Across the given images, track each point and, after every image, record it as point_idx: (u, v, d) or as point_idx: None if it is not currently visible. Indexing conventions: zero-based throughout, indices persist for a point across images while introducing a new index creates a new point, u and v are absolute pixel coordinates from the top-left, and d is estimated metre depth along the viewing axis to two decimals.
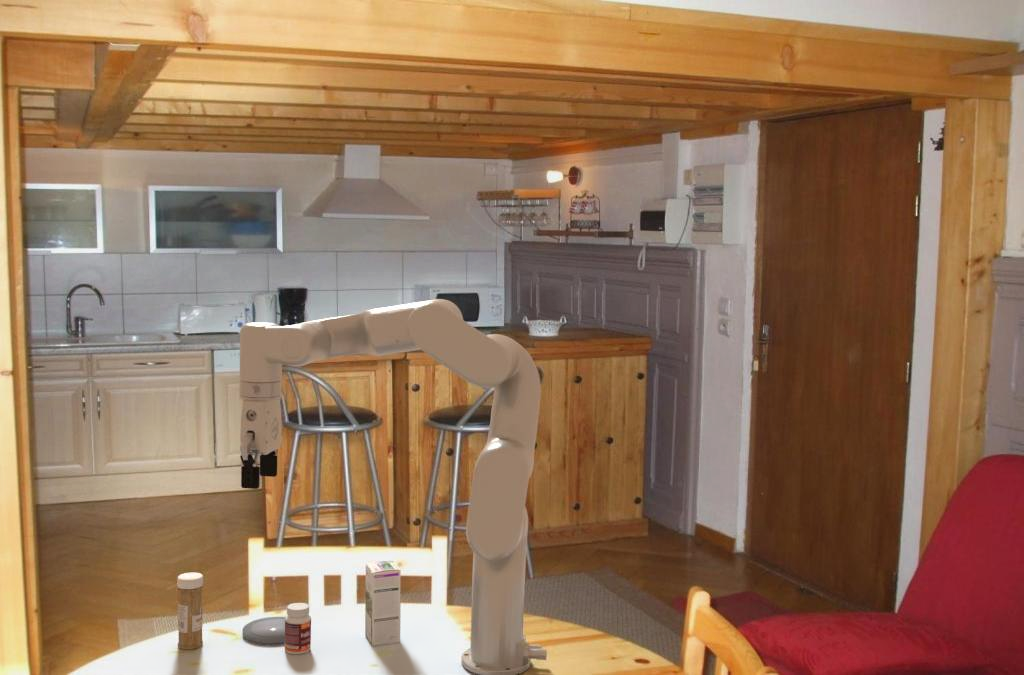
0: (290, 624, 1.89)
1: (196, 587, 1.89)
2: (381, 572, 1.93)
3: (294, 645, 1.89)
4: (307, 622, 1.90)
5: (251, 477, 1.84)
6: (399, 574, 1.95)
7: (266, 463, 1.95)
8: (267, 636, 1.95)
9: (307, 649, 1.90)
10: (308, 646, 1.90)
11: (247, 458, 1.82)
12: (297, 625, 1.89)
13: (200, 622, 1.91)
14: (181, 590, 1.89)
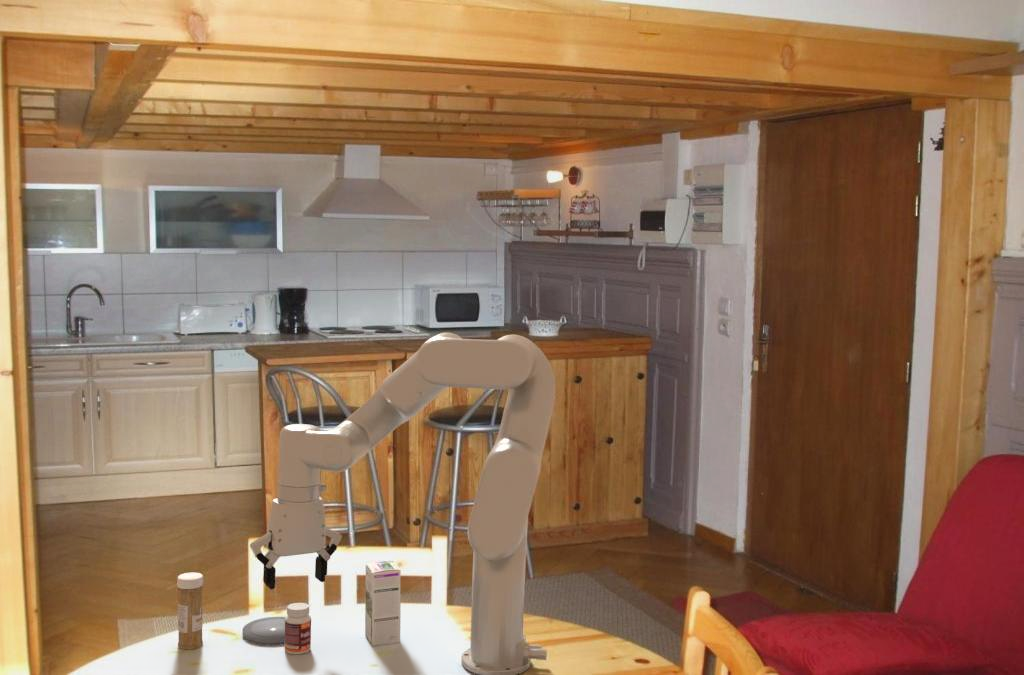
0: (290, 624, 1.89)
1: (196, 587, 1.89)
2: (381, 572, 1.93)
3: (294, 645, 1.89)
4: (307, 622, 1.90)
5: None
6: (399, 574, 1.95)
7: None
8: (267, 636, 1.95)
9: (307, 649, 1.90)
10: (308, 646, 1.90)
11: None
12: (297, 625, 1.89)
13: (200, 622, 1.91)
14: (181, 590, 1.89)
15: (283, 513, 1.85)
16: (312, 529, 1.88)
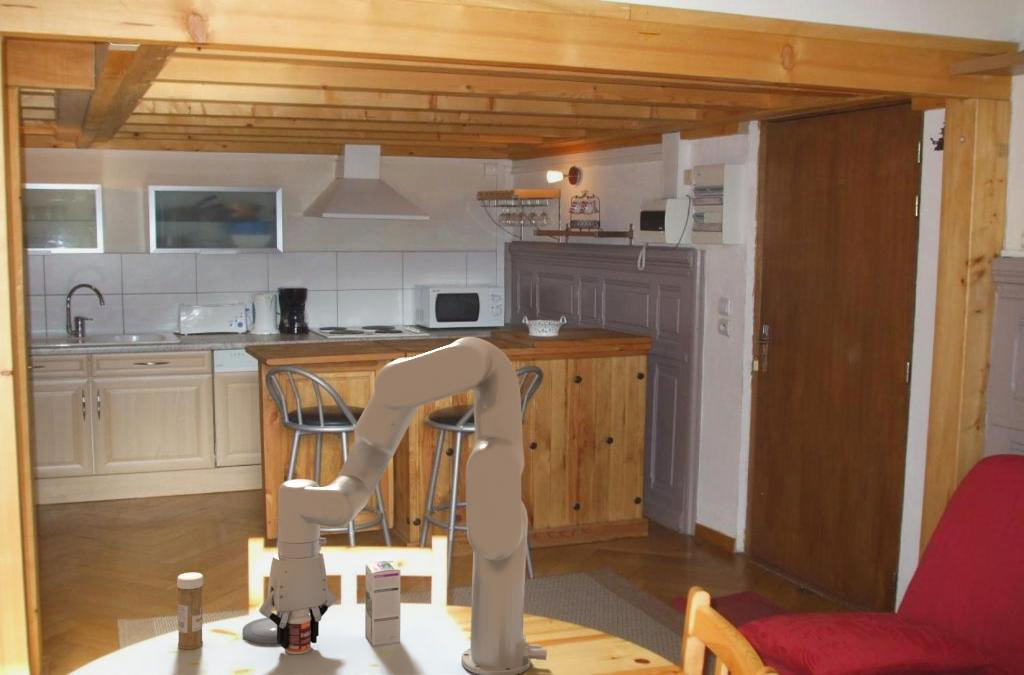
0: (290, 624, 1.89)
1: (196, 587, 1.89)
2: (381, 572, 1.93)
3: (294, 644, 1.89)
4: (307, 622, 1.90)
5: None
6: (399, 574, 1.95)
7: None
8: (267, 636, 1.95)
9: (307, 649, 1.90)
10: (308, 646, 1.90)
11: None
12: (297, 625, 1.89)
13: (200, 622, 1.91)
14: (181, 590, 1.89)
15: (284, 569, 1.86)
16: (313, 584, 1.89)
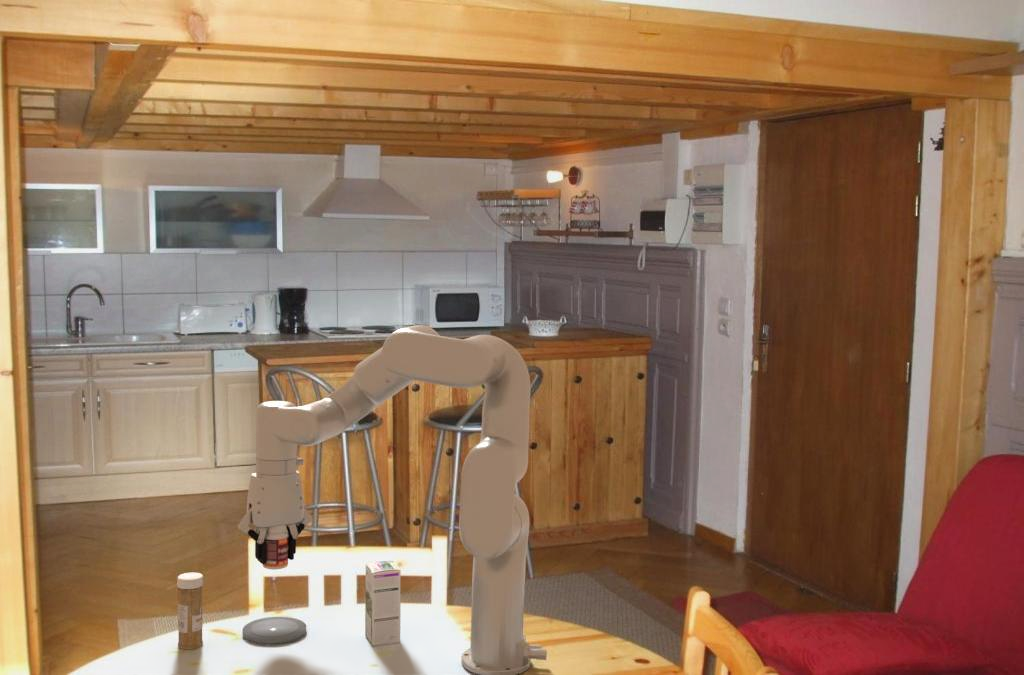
0: (268, 540, 1.95)
1: (196, 587, 1.89)
2: (381, 572, 1.93)
3: (271, 560, 1.95)
4: (284, 538, 1.96)
5: None
6: (399, 574, 1.95)
7: None
8: (267, 636, 1.95)
9: (284, 565, 1.97)
10: (285, 562, 1.97)
11: None
12: (274, 541, 1.95)
13: (200, 622, 1.91)
14: (181, 590, 1.89)
15: (261, 486, 1.93)
16: (290, 501, 1.96)
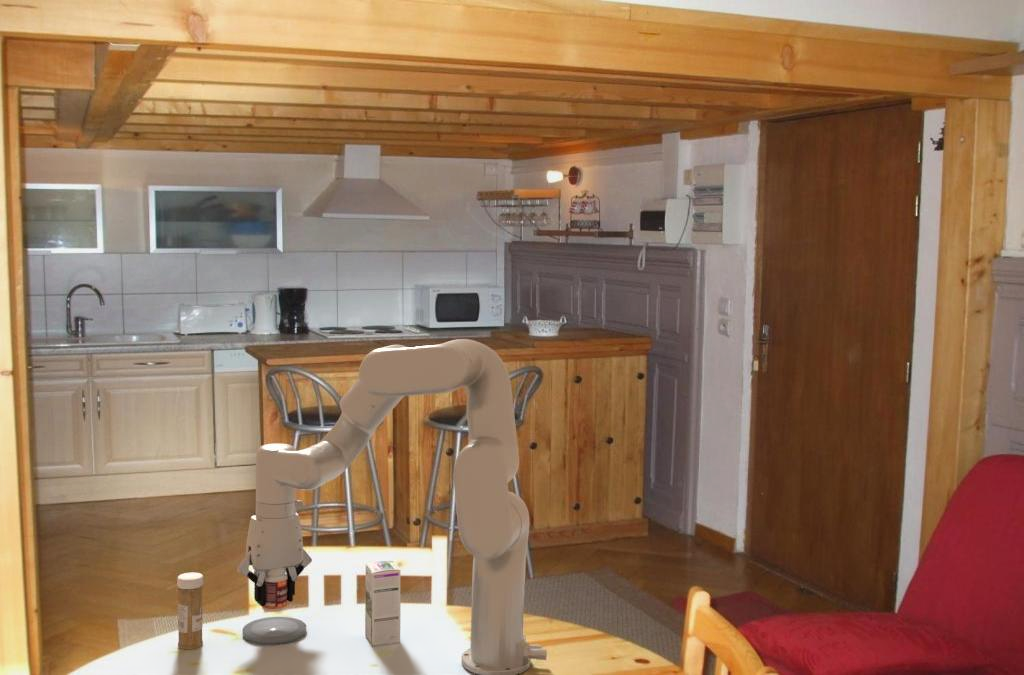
0: (267, 582, 1.96)
1: (196, 587, 1.89)
2: (381, 572, 1.93)
3: (270, 602, 1.96)
4: (283, 581, 1.97)
5: None
6: (399, 574, 1.95)
7: None
8: (267, 636, 1.95)
9: (283, 607, 1.97)
10: (284, 604, 1.98)
11: None
12: (273, 583, 1.96)
13: (200, 622, 1.91)
14: (181, 590, 1.89)
15: (261, 529, 1.93)
16: (289, 544, 1.97)
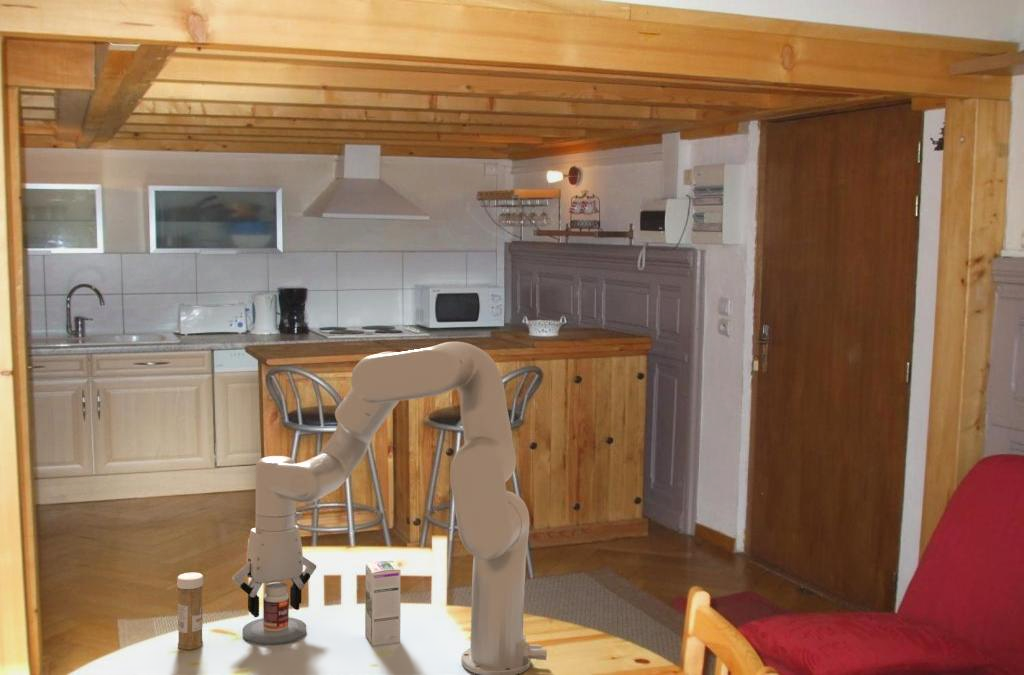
0: (268, 602, 1.96)
1: (196, 587, 1.89)
2: (381, 572, 1.93)
3: (272, 622, 1.96)
4: (284, 600, 1.97)
5: None
6: (399, 574, 1.95)
7: None
8: (267, 636, 1.95)
9: (285, 626, 1.98)
10: (286, 624, 1.98)
11: None
12: (275, 603, 1.96)
13: (200, 622, 1.91)
14: (181, 590, 1.89)
15: (261, 542, 1.94)
16: (289, 556, 1.97)
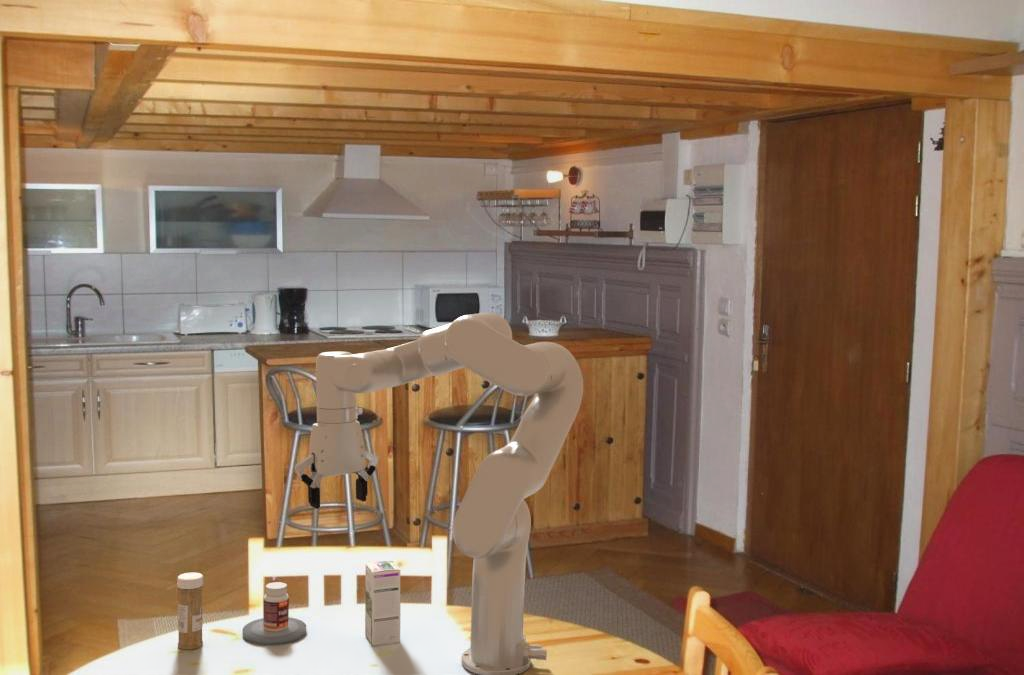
0: (268, 602, 1.96)
1: (196, 587, 1.89)
2: (381, 572, 1.93)
3: (272, 622, 1.96)
4: (284, 600, 1.97)
5: None
6: (399, 574, 1.95)
7: None
8: (267, 636, 1.95)
9: (285, 626, 1.98)
10: (286, 624, 1.98)
11: None
12: (275, 603, 1.96)
13: (200, 622, 1.91)
14: (181, 590, 1.89)
15: (324, 434, 1.95)
16: (352, 450, 1.98)
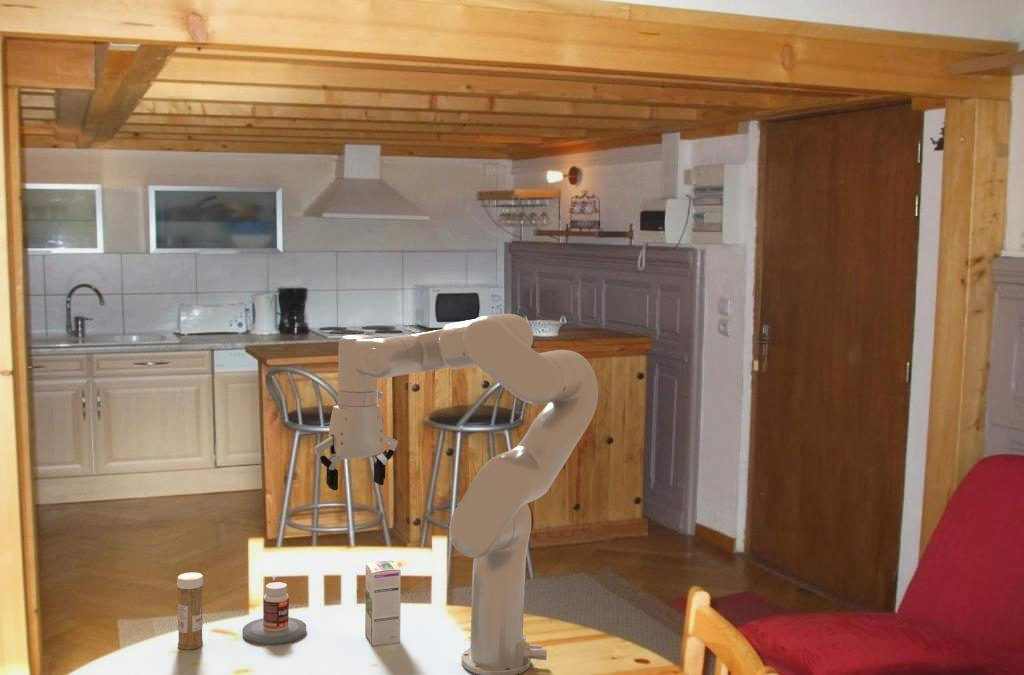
0: (268, 602, 1.96)
1: (196, 587, 1.89)
2: (381, 572, 1.93)
3: (272, 622, 1.96)
4: (284, 600, 1.97)
5: None
6: (399, 574, 1.95)
7: None
8: (267, 636, 1.95)
9: (285, 626, 1.98)
10: (286, 624, 1.98)
11: None
12: (275, 603, 1.96)
13: (200, 622, 1.91)
14: (181, 590, 1.89)
15: (344, 417, 1.96)
16: (371, 433, 1.99)
